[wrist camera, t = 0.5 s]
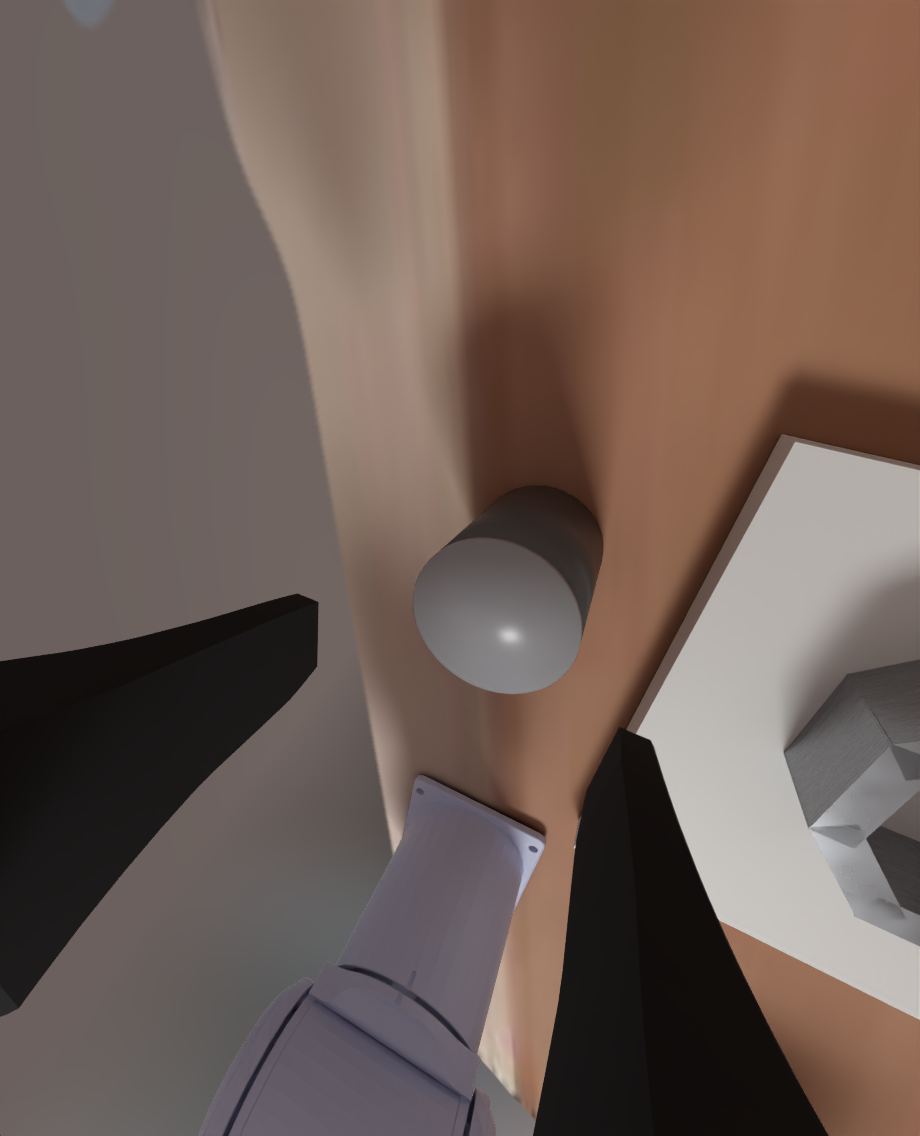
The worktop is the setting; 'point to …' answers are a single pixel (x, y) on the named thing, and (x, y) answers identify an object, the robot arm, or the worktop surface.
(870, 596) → the socket board
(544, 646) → the dark gray cylinder
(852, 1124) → the worktop surface
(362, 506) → the worktop surface
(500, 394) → the worktop surface
